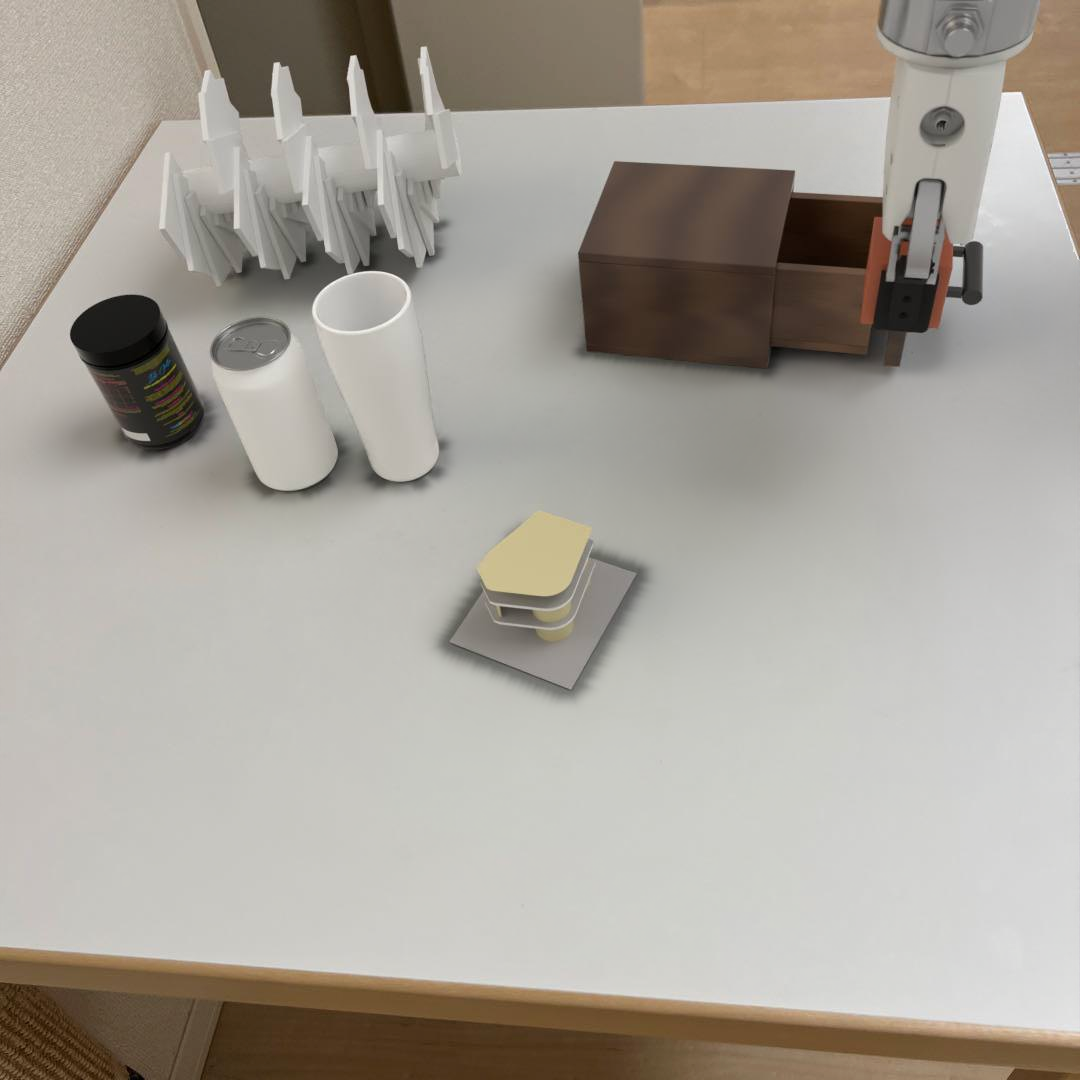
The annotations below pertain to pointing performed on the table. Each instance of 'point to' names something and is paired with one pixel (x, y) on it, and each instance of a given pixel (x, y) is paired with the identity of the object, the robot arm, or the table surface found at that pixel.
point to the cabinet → (684, 262)
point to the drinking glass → (380, 369)
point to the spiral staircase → (306, 183)
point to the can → (273, 403)
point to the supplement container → (139, 370)
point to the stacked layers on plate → (543, 600)
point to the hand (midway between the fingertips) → (902, 298)
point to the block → (881, 254)
